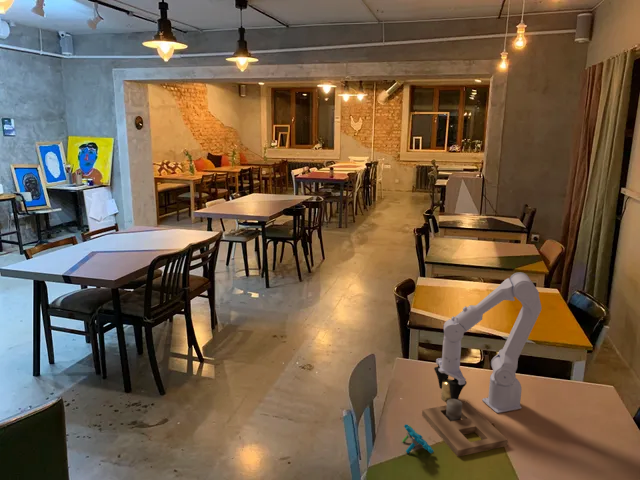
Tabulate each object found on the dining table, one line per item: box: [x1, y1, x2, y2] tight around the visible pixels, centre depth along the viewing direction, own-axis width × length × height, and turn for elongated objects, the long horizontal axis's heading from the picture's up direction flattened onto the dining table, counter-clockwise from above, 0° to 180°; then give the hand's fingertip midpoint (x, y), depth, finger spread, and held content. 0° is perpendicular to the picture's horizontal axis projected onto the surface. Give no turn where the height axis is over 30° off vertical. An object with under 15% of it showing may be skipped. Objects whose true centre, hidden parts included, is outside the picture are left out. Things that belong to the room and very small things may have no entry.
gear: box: [401, 424, 434, 455], centre depth 130 cm, size 11×6×10 cm
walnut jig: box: [421, 399, 509, 458], centre depth 139 cm, size 16×20×6 cm
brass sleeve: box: [440, 378, 452, 403], centre depth 156 cm, size 4×4×6 cm
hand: (448, 393), depth 156 cm, fingers open, 7 cm apart
